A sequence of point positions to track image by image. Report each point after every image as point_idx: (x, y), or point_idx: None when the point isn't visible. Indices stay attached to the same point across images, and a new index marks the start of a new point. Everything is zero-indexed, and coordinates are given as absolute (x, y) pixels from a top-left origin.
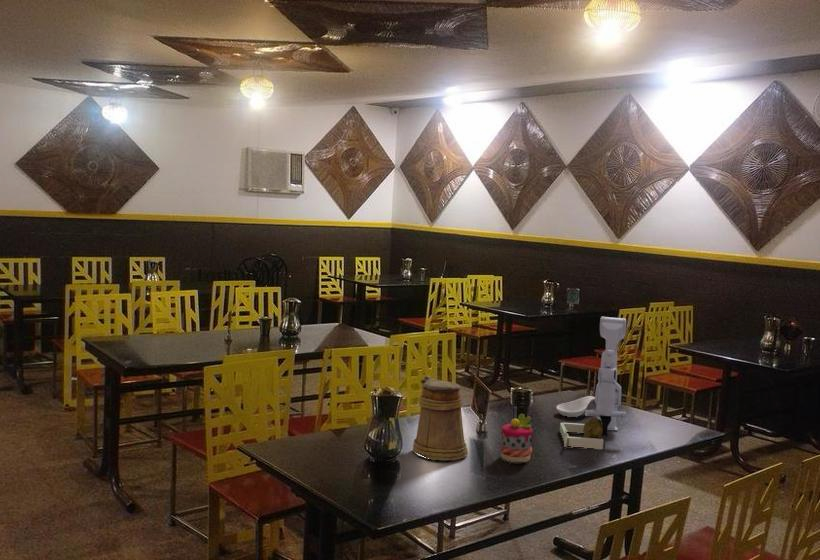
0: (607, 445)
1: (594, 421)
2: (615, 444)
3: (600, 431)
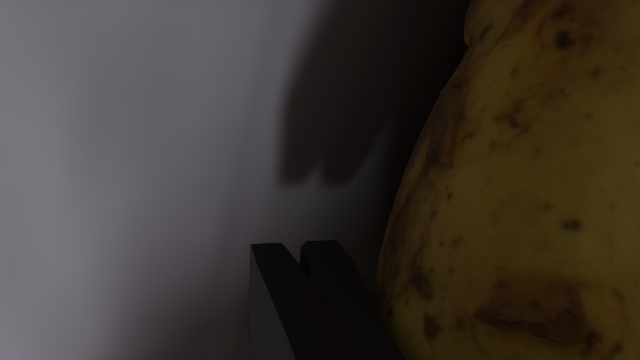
0: (259, 64)
1: None
2: (106, 142)
3: (576, 69)
